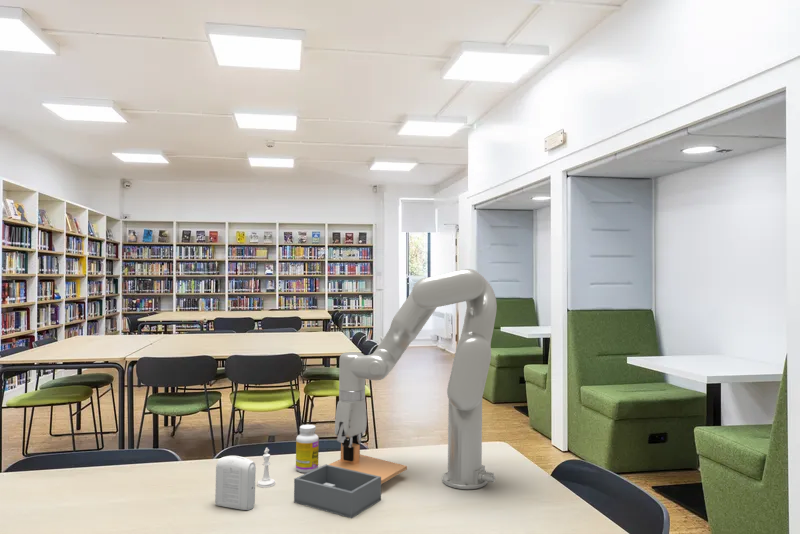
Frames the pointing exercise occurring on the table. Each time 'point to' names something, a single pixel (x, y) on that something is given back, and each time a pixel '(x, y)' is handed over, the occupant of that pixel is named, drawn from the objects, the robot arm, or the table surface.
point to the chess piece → (266, 472)
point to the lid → (370, 465)
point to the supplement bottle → (307, 449)
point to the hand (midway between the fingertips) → (351, 458)
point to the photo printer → (235, 482)
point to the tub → (337, 490)
